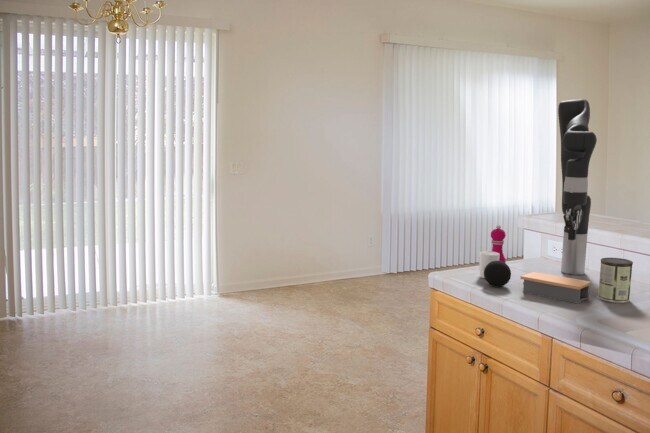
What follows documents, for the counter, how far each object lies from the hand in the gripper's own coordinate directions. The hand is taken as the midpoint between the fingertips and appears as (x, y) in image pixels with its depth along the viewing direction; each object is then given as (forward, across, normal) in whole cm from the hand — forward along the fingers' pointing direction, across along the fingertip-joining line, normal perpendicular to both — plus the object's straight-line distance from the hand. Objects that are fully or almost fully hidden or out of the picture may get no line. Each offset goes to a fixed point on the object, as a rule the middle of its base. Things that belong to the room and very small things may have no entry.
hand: (571, 239), depth 206 cm
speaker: (+22, -1, -27) cm, 35 cm away
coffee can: (+22, -15, +11) cm, 29 cm away
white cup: (+22, -12, -36) cm, 44 cm away
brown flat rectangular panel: (+17, -4, -6) cm, 18 cm away
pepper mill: (+22, -23, -38) cm, 50 cm away
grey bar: (+21, -5, -7) cm, 23 cm away
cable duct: (+22, -5, -6) cm, 23 cm away
